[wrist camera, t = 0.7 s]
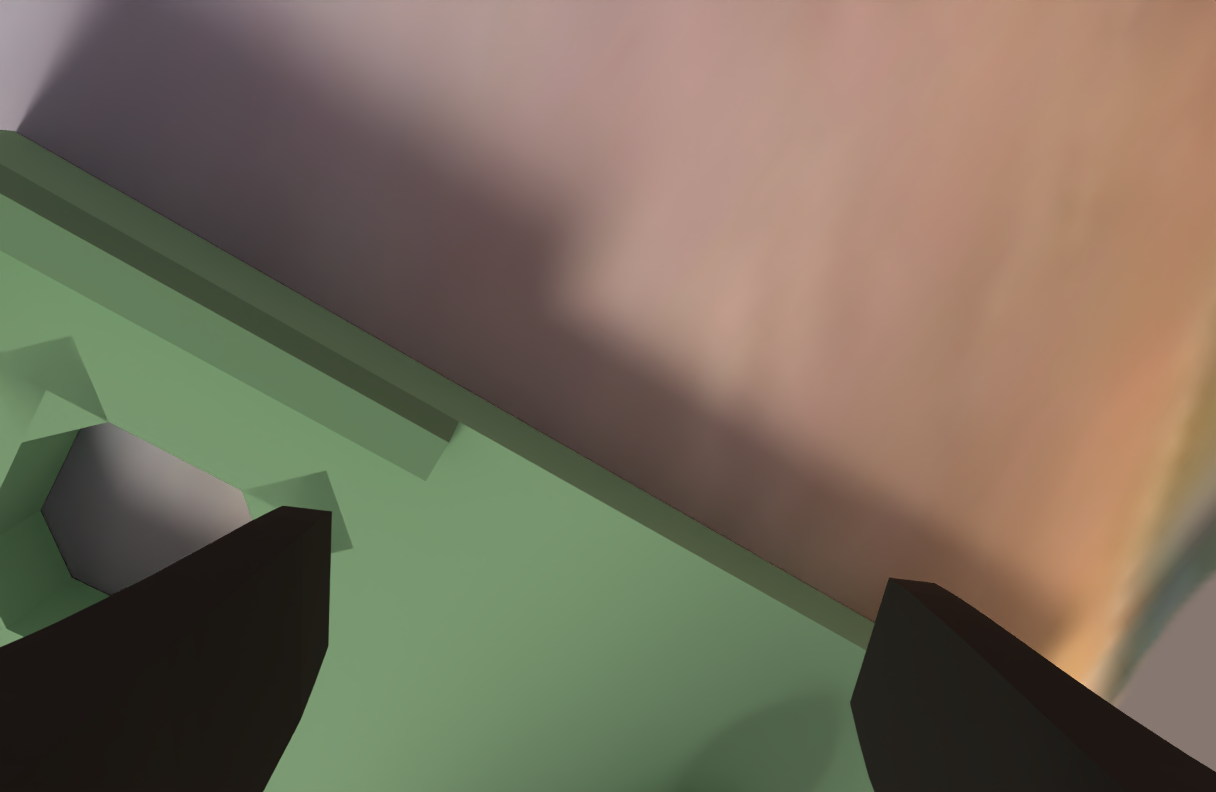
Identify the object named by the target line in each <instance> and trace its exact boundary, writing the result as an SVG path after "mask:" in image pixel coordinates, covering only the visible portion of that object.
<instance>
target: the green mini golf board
mask: <svg viewBox="0 0 1216 792" xmlns="http://www.w3.org/2000/svg"><path fill="white" fill-rule="evenodd" d="M106 422H110V423H112V424H113V425H115V426H117V427H119V428H121V429H123V430H125V431H127V432H129V433H131V434H133V435H135V436H137V437H139V438H141V439H143V440H144V441H146V442H148V443H150V444H152V445H154V446H156V447H158V448H160V449H162V450H164V451H166V452H168V453H170V454H172V455H174V456H176V457H177V458H179V459H181V460H183V461H185V462H187V463H189V464H191V465H193V466H195V467H197V468H199V469H201V470H203V471H205V472H207V473H209V474H210V475H212V476H214V477H216V478H218V479H220V480H222V481H224V482H226V483H228V484H230V485H232V486H234V487H236V488H238V489H240V490H242V493H243V495H244V498H245V501H246V503H247V506H248V508H249V511H250V514H251V516H252V519H253V520H254V519H256V518H258V517H260V516H262V515H264V514H266V513H268V512H270V511H272V510H274V509H276V508H278V507H281V506H291V507H299V508H308V509H316V510H325V511H332V531H331V570H330V608H329V646H328V649H327V652H326V655H325V657H324V660H323V663H322V665H321V668H320V671H319V674H318V676H317V679H316V682H315V685H314V687H313V690H312V692H311V695H310V697H309V700H308V703H307V705H306V708H305V710H304V713H303V715H302V718H301V720H300V722H299V724H298V726H297V728H296V730H295V732H294V734H293V736H292V738H291V740H290V742H289V744H288V746H287V747H286V749H285V751H284V753H283V755H282V757H281V759H280V761H279V763H278V765H277V767H276V768H275V770H274V772H273V774H272V776H271V778H270V780H269V782H268V784H267V786H266V787H265V789H264V791H263V792H874V790H873V787H872V784H871V782H870V779H869V776H868V772H867V769H866V765H865V762H864V758H863V754H862V751H861V747H860V743H859V739H858V735H857V731H856V727H855V722H854V718H853V714H852V710H851V706H850V701H851V698H852V694H853V691H854V688H855V685H856V682H857V678H858V675H859V672H860V669H861V666H862V663H863V659H864V656H865V653H866V650H867V647H868V643H869V640H870V637H871V634H872V631H873V628H874V624H875V623H874V622H872V621H870V620H868V619H867V618H865V617H863V616H861V615H860V614H858V613H856V612H854V611H853V610H851V609H849V608H847V607H846V606H844V605H842V604H840V603H839V602H837V601H835V600H833V599H832V598H830V597H828V596H826V595H825V594H823V593H821V592H819V591H818V590H816V589H814V588H812V587H811V586H809V585H807V584H805V583H804V582H802V581H800V580H798V579H797V578H795V577H793V576H791V575H790V574H788V573H786V572H784V571H783V570H781V569H779V568H777V567H776V566H774V565H772V564H771V563H769V562H767V561H765V560H764V559H762V558H760V557H758V556H757V555H755V554H753V553H751V552H750V551H748V550H746V549H744V548H743V547H741V546H739V545H737V544H736V543H734V542H732V541H730V540H729V539H727V538H725V537H723V536H722V535H720V534H718V533H716V532H715V531H713V530H711V529H709V528H708V527H706V526H704V525H702V524H701V523H699V522H697V521H695V520H694V519H692V518H690V517H688V516H687V515H685V514H683V513H681V512H680V511H678V510H676V509H674V508H673V507H671V506H669V505H667V504H666V503H664V502H662V501H660V500H659V499H657V498H655V497H653V496H652V495H650V494H648V493H646V492H645V491H643V490H641V489H639V488H638V487H636V486H634V485H632V484H631V483H629V482H627V481H625V480H624V479H622V478H620V477H618V476H617V475H615V474H613V473H611V472H610V471H608V470H606V469H604V468H603V467H601V466H599V465H597V464H596V463H594V462H592V461H590V460H589V459H587V458H585V457H583V456H582V455H580V454H578V453H576V452H575V451H573V450H571V449H569V448H568V447H566V446H564V445H562V444H561V443H559V442H557V441H555V440H554V439H552V438H550V437H548V436H547V435H545V434H543V433H541V432H540V431H538V430H536V429H534V428H533V427H531V426H529V425H527V424H526V423H524V422H522V421H520V420H519V419H517V418H515V417H513V416H512V415H510V414H508V413H506V412H505V411H503V410H501V409H499V408H498V407H496V406H494V405H492V404H491V403H489V402H487V401H485V400H484V399H482V398H480V397H478V396H477V395H475V394H473V393H471V392H470V391H468V390H466V389H464V388H463V387H461V386H459V385H457V384H456V383H454V382H452V381H450V380H449V379H447V378H445V377H443V376H442V375H440V374H438V373H436V372H435V371H433V370H431V369H429V368H428V367H426V366H424V365H422V364H421V363H419V362H417V361H415V360H414V359H412V358H410V357H408V356H407V355H405V354H403V353H401V352H400V351H398V350H396V349H394V348H393V347H391V346H389V345H387V344H386V343H384V342H382V341H380V340H379V339H377V338H375V337H373V336H372V335H370V334H368V333H366V332H365V331H363V330H361V329H359V328H358V327H356V326H354V325H352V324H351V323H349V322H347V321H345V320H344V319H342V318H340V317H338V316H337V315H335V314H333V313H331V312H330V311H328V310H326V309H324V308H323V307H321V306H319V305H317V304H316V303H314V302H312V301H310V300H309V299H307V298H305V297H303V296H302V295H300V294H298V293H296V292H295V291H293V290H291V289H289V288H288V287H286V286H284V285H282V284H281V283H279V282H277V281H276V280H274V279H272V278H270V277H269V276H267V275H265V274H263V273H262V272H260V271H258V270H256V269H255V268H253V267H251V266H249V265H248V264H246V263H244V262H242V261H241V260H239V259H237V258H235V257H234V256H232V255H230V254H228V253H227V252H225V251H223V250H221V249H220V248H218V247H216V246H214V245H213V244H211V243H209V242H207V241H206V240H204V239H202V238H200V237H199V236H197V235H195V234H193V233H192V232H190V231H188V230H186V229H185V228H183V227H181V226H179V225H178V224H176V223H174V222H172V221H171V220H169V219H167V218H165V217H164V216H162V215H160V214H158V213H157V212H155V211H153V210H151V209H150V208H148V207H146V206H144V205H143V204H141V203H139V202H137V201H136V200H134V199H132V198H130V197H129V196H127V195H125V194H123V193H122V192H120V191H118V190H116V189H115V188H113V187H111V186H109V185H108V184H106V183H104V182H102V181H101V180H99V179H97V178H95V177H94V176H92V175H90V174H88V173H87V172H85V171H83V170H81V169H80V168H78V167H76V166H74V165H73V164H71V163H69V162H67V161H66V160H64V159H62V158H60V157H59V156H57V155H55V154H53V153H52V152H50V151H48V150H46V149H45V148H43V147H41V146H39V145H38V144H36V143H34V142H32V141H31V140H29V139H27V138H25V137H24V136H22V135H20V134H18V133H17V132H15V131H7V130H0V647H2V646H4V645H6V644H9V643H11V642H13V641H16V640H18V639H20V638H23V637H25V636H27V635H30V634H32V633H34V632H36V631H38V630H41V629H43V628H45V627H47V626H50V625H52V624H54V623H56V622H58V621H60V620H62V619H64V618H66V617H68V616H71V615H73V614H75V613H77V612H79V611H81V610H83V609H85V608H87V607H89V606H91V605H93V604H95V603H97V602H99V601H101V600H103V599H105V598H107V597H109V595H107V594H105V593H103V592H101V591H99V590H97V589H95V588H92V587H90V586H88V585H86V584H84V583H82V582H80V581H78V580H76V579H73V578H72V577H71V575H70V573H69V571H68V569H67V567H66V564H65V562H64V560H63V558H62V556H61V554H60V552H59V549H58V547H57V545H56V543H55V541H54V539H53V537H52V534H51V532H50V530H49V528H48V526H47V524H46V521H45V519H44V517H43V515H42V513H41V511H40V510H41V508H42V506H43V504H44V502H45V500H46V498H47V496H48V494H49V492H50V490H51V488H52V486H53V484H54V482H55V479H56V477H57V475H58V473H59V471H60V469H61V467H62V465H63V463H64V461H65V459H66V457H67V455H68V453H69V451H70V448H71V446H72V444H73V442H74V440H75V438H76V436H77V434H78V432H79V430H80V429H81V428H85V427H89V426H93V425H98V424H102V423H106Z"/></svg>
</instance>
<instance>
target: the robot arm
mask: <svg viewBox="0 0 1216 792" xmlns="http://www.w3.org/2000/svg"><path fill="white" fill-rule="evenodd" d="M331 531H332V511H325V510H316V509H308V508H299V507H291V506H281V507H278V508H276V509H274V510H272V511H270V512H268V513H266V514H264V515H262V516H260V517H258V518H256V519H254V520H253V521H251V522H249V523H247V524H245V525H243V526H241V527H240V528H238V529H236V530H234V531H232V532H231V533H229V534H227V535H225V536H223V537H222V538H220V539H218V540H216V541H214V542H213V543H211V544H209V545H207V546H205V547H203V548H202V549H200V550H198V551H196V552H194V553H192V554H191V555H189V556H187V557H185V558H183V559H181V560H179V561H178V562H176V563H174V564H172V565H170V566H168V567H166V568H165V569H163V570H161V571H159V572H157V573H155V574H153V575H152V576H150V577H148V578H146V579H144V580H142V581H140V582H138V583H136V584H134V585H132V586H130V587H128V588H126V589H124V590H122V591H120V592H117V593H115V594H113V595H111V596H109V597H107V598H105V599H103V600H101V601H99V602H97V603H95V604H93V605H91V606H89V607H87V608H85V609H83V610H81V611H79V612H77V613H75V614H73V615H71V616H68V617H66V618H64V619H62V620H60V621H58V622H56V623H54V624H52V625H50V626H47V627H45V628H43V629H41V630H38V631H36V632H34V633H32V634H30V635H27V636H25V637H23V638H20V639H18V640H16V641H13V642H11V643H9V644H6V645H4V646H2V647H0V792H263V791H264V789H265V787H266V786H267V784H268V782H269V780H270V778H271V776H272V774H273V772H274V770H275V768H276V767H277V765H278V763H279V761H280V759H281V757H282V755H283V753H284V751H285V749H286V747H287V746H288V744H289V742H290V740H291V738H292V736H293V734H294V732H295V730H296V728H297V726H298V724H299V722H300V720H301V718H302V715H303V713H304V710H305V708H306V705H307V703H308V700H309V697H310V695H311V692H312V690H313V687H314V685H315V682H316V679H317V676H318V674H319V671H320V668H321V665H322V663H323V660H324V657H325V655H326V652H327V649H328V646H329V608H330V570H331ZM850 706H851V710H852V714H853V718H854V722H855V727H856V731H857V735H858V739H859V743H860V747H861V751H862V754H863V758H864V762H865V765H866V769H867V772H868V776H869V779H870V782H871V784H872V787H873V790H874V792H1216V772H1215V771H1213V770H1212V769H1210V768H1208V767H1207V766H1205V765H1203V764H1202V763H1200V762H1199V761H1197V760H1195V759H1194V758H1192V757H1190V756H1189V755H1187V754H1186V753H1184V752H1182V751H1181V750H1179V749H1178V748H1176V747H1175V746H1173V745H1172V744H1170V743H1169V742H1167V741H1166V740H1164V739H1162V738H1161V737H1160V736H1158V735H1156V734H1155V733H1153V732H1152V731H1150V730H1149V729H1147V728H1146V727H1144V726H1143V725H1141V724H1140V723H1138V722H1137V721H1135V720H1134V719H1132V718H1130V717H1129V716H1127V715H1126V714H1124V713H1123V712H1121V711H1120V710H1119V709H1117V708H1116V707H1114V706H1113V705H1111V704H1110V703H1108V702H1107V701H1105V700H1104V699H1102V698H1101V697H1100V696H1098V695H1097V694H1095V693H1094V692H1092V691H1091V690H1089V689H1088V688H1087V687H1085V686H1084V685H1082V684H1081V683H1079V682H1078V681H1077V680H1075V679H1074V678H1072V677H1071V676H1069V675H1068V674H1067V673H1065V672H1064V671H1062V670H1061V669H1060V668H1058V667H1057V666H1055V665H1054V664H1052V663H1051V662H1050V661H1048V660H1047V659H1045V658H1044V657H1043V656H1041V655H1040V654H1038V653H1037V652H1036V651H1034V650H1033V649H1031V648H1030V647H1029V646H1027V645H1026V644H1025V643H1023V642H1022V641H1020V640H1019V639H1018V638H1016V637H1015V636H1013V635H1012V634H1011V633H1009V632H1008V631H1006V630H1005V629H1004V628H1002V627H1001V626H999V625H998V624H997V623H995V622H994V621H992V620H991V619H989V618H988V617H987V616H985V615H984V614H982V613H981V612H979V611H978V610H976V609H975V608H973V607H972V606H971V605H969V604H968V603H966V602H965V601H963V600H962V599H960V598H958V597H957V596H955V595H954V594H952V593H950V592H949V591H947V590H945V589H944V588H942V587H940V586H938V585H937V584H935V583H928V582H920V581H911V580H903V579H895V578H889V580H888V583H887V586H886V589H885V593H884V596H883V599H882V602H881V605H880V609H879V612H878V615H877V618H876V621H875V624H874V628H873V631H872V634H871V637H870V640H869V643H868V647H867V650H866V653H865V656H864V659H863V663H862V666H861V669H860V672H859V675H858V678H857V682H856V685H855V688H854V691H853V694H852V698H851V701H850Z"/></svg>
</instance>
